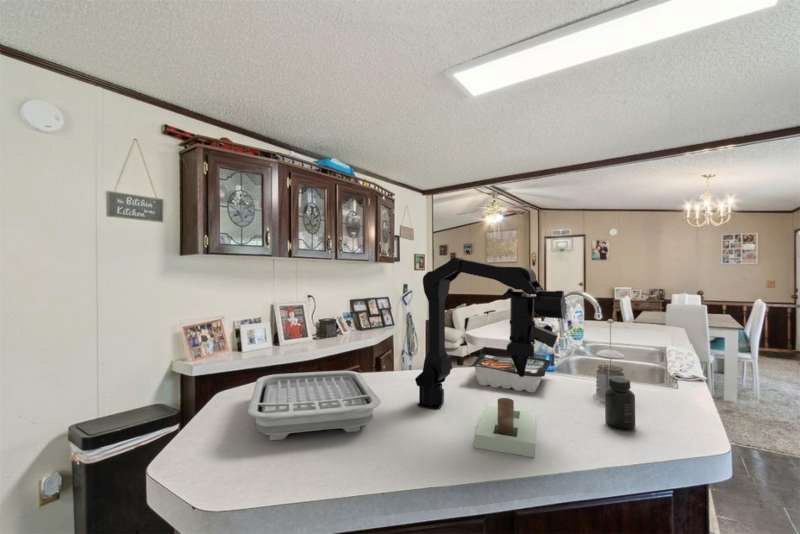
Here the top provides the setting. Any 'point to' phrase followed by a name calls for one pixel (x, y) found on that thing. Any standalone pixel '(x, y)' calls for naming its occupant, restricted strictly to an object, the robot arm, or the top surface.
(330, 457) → the top surface
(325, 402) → the dish rack
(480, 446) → the board
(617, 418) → the supplement bottle
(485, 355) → the food packaging
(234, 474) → the top surface
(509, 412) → the peg
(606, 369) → the french press
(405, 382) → the top surface
